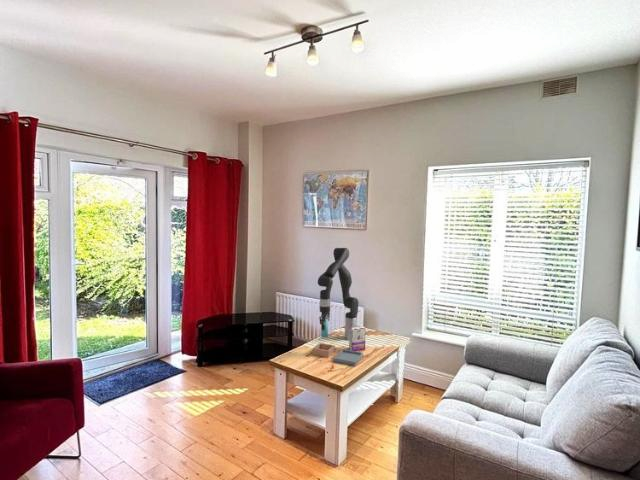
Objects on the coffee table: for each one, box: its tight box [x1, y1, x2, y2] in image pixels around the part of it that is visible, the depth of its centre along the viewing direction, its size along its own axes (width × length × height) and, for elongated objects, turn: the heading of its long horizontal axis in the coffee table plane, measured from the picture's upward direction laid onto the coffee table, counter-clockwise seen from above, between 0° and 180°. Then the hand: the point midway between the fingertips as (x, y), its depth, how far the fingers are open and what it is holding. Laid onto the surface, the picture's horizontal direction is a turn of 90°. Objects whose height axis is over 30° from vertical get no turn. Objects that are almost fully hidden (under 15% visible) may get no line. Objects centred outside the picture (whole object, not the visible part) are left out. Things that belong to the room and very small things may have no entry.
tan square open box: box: [312, 342, 336, 358], centre depth 241 cm, size 12×12×4 cm
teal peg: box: [320, 319, 329, 338], centre depth 240 cm, size 5×5×12 cm
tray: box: [332, 348, 364, 367], centre depth 231 cm, size 18×15×2 cm
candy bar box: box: [348, 325, 366, 352], centre depth 248 cm, size 11×5×16 cm, turn 112°
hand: (324, 328), depth 240 cm, fingers closed on teal peg, 5 cm apart
